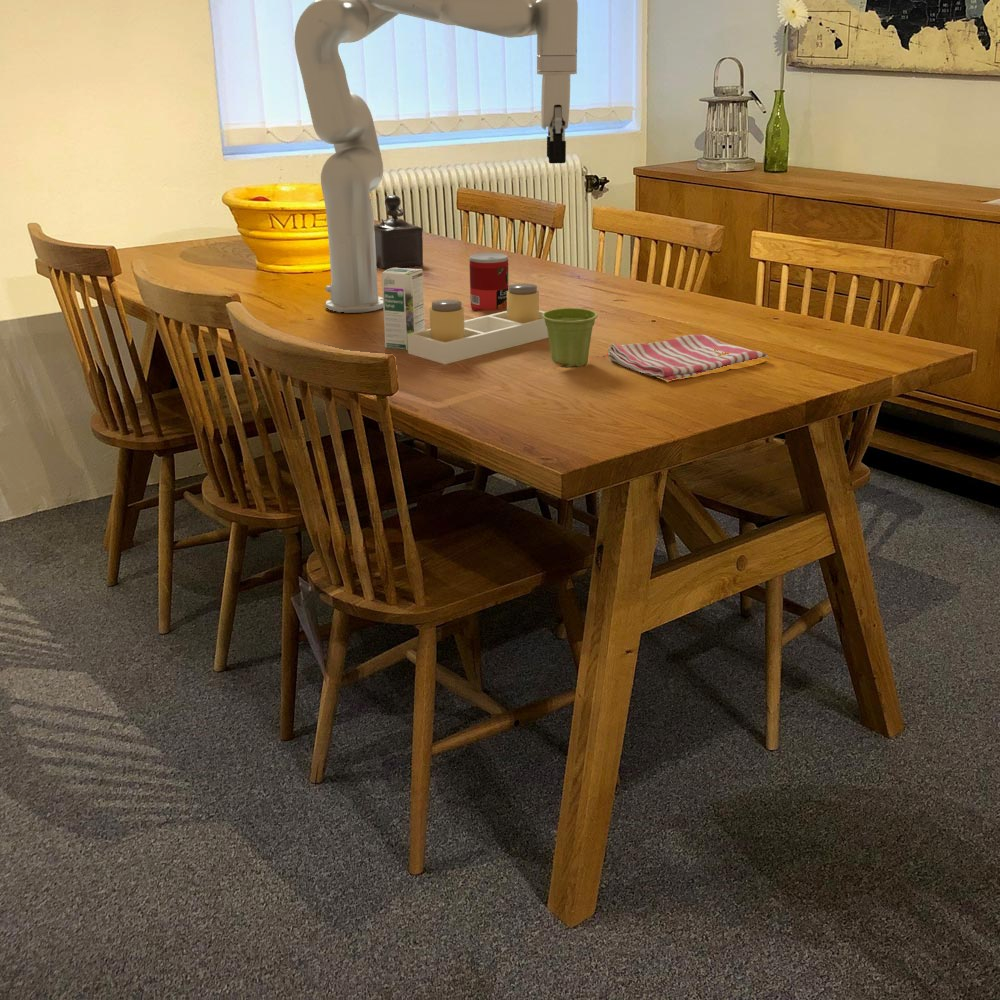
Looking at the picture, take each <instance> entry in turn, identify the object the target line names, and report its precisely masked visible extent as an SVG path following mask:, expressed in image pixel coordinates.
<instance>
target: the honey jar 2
mask: <svg viewBox="0 0 1000 1000" xmlns="http://www.w3.org/2000/svg"><path fill="white" fill-rule="evenodd" d="M506 311H507V320H510V321H514V322H519V323H527V322H531V321H535V320H539V311H540V291H539V289H538V286H537V285H536V284H534V283H525V282H524V283H514V284H509V285H508V291H507V307H506Z"/></svg>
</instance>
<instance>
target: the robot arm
mask: <svg viewBox="0 0 1000 1000" xmlns="http://www.w3.org/2000/svg"><path fill="white" fill-rule="evenodd" d="M578 8H579V7H578V0H314V1H313V2H312V3H310V4H309V5H308V6H307V7H306V8H305V9H304V11H303V12H302V13H301V15H300V16H299V19H298V21H297V23H296V26H295V31H294V48H295V54H296V58H297V62H298V67H299V69H300V70H299V71H300V74H301V78H302V83H303V87H304V92H305V97H306V100H307V105H308V110H309V113H310V117H311V123H312V126H313V129H314V132H315V134H316V135H317V136H318V138H319V139H320V140H321V141H323V142H324V143H326V144H328V145H329V144H330V145H333V147H334V152H335V153H334V154H332V155H330V156H329V157H328V158H327V159H326V160H325V162H324V164H323V166H322V169H321V173H320V184H321V185H320V186H321V192H322V196H323V200H324V207H325V214H326V225H327V226H326V227H327V235H328V250H329V264H330V265H329V266H330V267H329V268H330V279H331V283H330V284H329V285H326V286H325V289H324V290H325V291H326V292H327V293H330V299H327V300H326V301H325V308H326V309H327V308H328V309H330V310H333V311H332V312H334V311H337V312H336V313H341V312H344V313H345V314H352V313H353V314H358V313H359V314H360V313H368V312H369V313H370V312H375V311H378V310H381V309H384V308H383V296H382V297H381V296H379V292H378V289H379V288H378V287H379V285H378V272H377V270H378V267H377V266H376V248H375V231H374V225H375V221H374V220H375V219H374V218H375V217H374V211H373V205H372V201H371V196H370V193H371V192H373V191H374V190H375V189H376V188H377V187H378V186H379V185H380V183H381V182H382V179H383V177H384V176H383V175H384V164H383V163H384V162H383V157H382V154H381V149H380V145H379V140H378V136H377V131H376V128H375V124H374V123H375V122H374V118H373V115H372V112H371V110H370V108H369V106H368V104H367V103H366V101H365V100H364V98H362V97H361V96H359V95H358V94H356V93H353V92H351V91H350V87H349V84H348V80H347V73H346V70H345V66H344V64H343V63H344V62H343V61H342V59H341V56H340V53H339V45H340V44H346V43H348V44H350V43H356V42H358V41H361V40H363V39H365V38H366V37H368V36H369V35H370V34H372V33H373V32H375V31H376V30H378V29H379V28H381V27H382V26H383V25H385V24H387V23H388V22H390V21H391V20H392V19H394V18H395V17H396V16H398V15H399V14H400V15H403V16H404V15H405V16H409V17H414V18H418V19H422V20H426V21H429V22H433V23H434V22H435V23H438V24H443V25H446V26H456V27H461V28H466V29H469V30H473V31H477V32H481V33H482V32H483V33H486V34H491V35H495V36H499V37H504V38H524V37H529V36H536V74H537V75H540V76H541V75H542V77H541V78H542V79H541V99H540V100H541V103H540V104H541V116H540V117H541V118H540V119H541V122H540V123H541V124H540V125H541V128H542V129H543V130H544V131H545V130H547V135H548V136H546V157H547V158H548V163H549V164H565V163H566V162H567V157H566V156H567V155H566V154H567V153H566V152H567V149H566V148H567V141H566V132H565V131H566V129H568V127H569V117H570V107H571V106H570V105H571V103H570V102H571V99H570V98H571V75H577V74H578V72H577V71H578V70H577V69H578V67H577V66H578V19H579V18H578V16H579V15H578V13H579V10H578ZM328 309H327V310H328ZM330 310H329V311H330Z"/></svg>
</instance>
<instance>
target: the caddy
mask: <svg viewBox="0 0 1000 1000" xmlns="http://www.w3.org/2000/svg"><path fill="white" fill-rule="evenodd" d="M544 312H545V311H543V310H539V320H535V321H531V322H527V323H519V322H514V321H510V320H507V310H504V311H501V312H500V311H499V312H496V313H492V314H488V315H483V316H479V317H474V318H471V319H470V318H469V319H466V320H465V319H464V331H465V338H461V339H457V340H453V341H449V342H441V341H438V340H434V339H431V332H430V328H427V329H425V330H422V331H418V332H414V333H409V334H407V339H408V350H407V354H408V355H413V356H416V357H420V358H422V359H425V360H428V361H432V362H436V363H439V364H442V365H447V364H448V365H449V364H452V363H456V362H459V361H463V360H467V359H471V358H474V357H478V356H482V355H487V354H491V353H494V352H498V351H501V350H502V351H503V350H506V349H509V348H513V347H517V346H520V345H524V344H525V345H526V344H528V343H532V342H537V341H540V340H544V339H549V336H548V330H547V326H546V324H545V319H544V318H543V317H542V314H543V313H544Z"/></svg>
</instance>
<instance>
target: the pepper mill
mask: <svg viewBox="0 0 1000 1000" xmlns="http://www.w3.org/2000/svg"><path fill="white" fill-rule="evenodd" d="M401 201H402V200H401V198H400V197H399V196H397V194H389V195H387V196H386V197H385V199H384V205H385V206H386V207H387V211H386V215H387V216H389V217H390V218H389V217H388V218H386V219H385V220H384V219H383V218H381V219H380V220H381V222H380V223H377V224H374V231H375V248H376V266H377V268H381V269H384V270H387V269H390V268H407V267H408V268H415V266H417V267H422V265H423V266H424V262H423V261H424V260H423V259H424V256H423V254H424V251H423V250H424V247H423V246H424V244H423V243H424V242H423V228H422V227H420V226H417V225H415V224H412V223H409V222H408V221H406V220H405V219H402V218H400V217H402V216H403V217H404V215H405V210H404V209H403V208H402V207H401ZM398 217H399V218H398Z"/></svg>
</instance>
